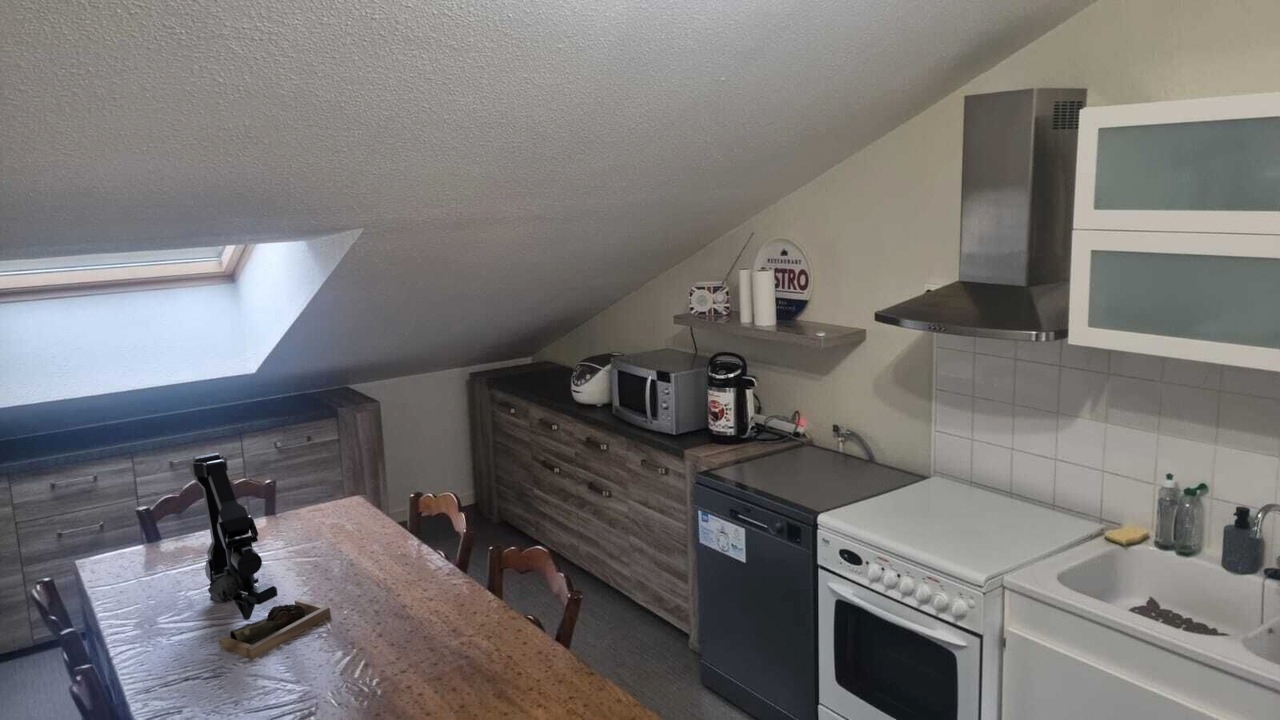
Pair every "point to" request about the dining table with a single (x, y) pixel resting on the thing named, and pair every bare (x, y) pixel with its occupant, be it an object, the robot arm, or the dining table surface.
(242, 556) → the robot arm
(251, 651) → the cradle frame
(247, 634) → the mossy log
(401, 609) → the dining table surface
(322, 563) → the dining table surface
